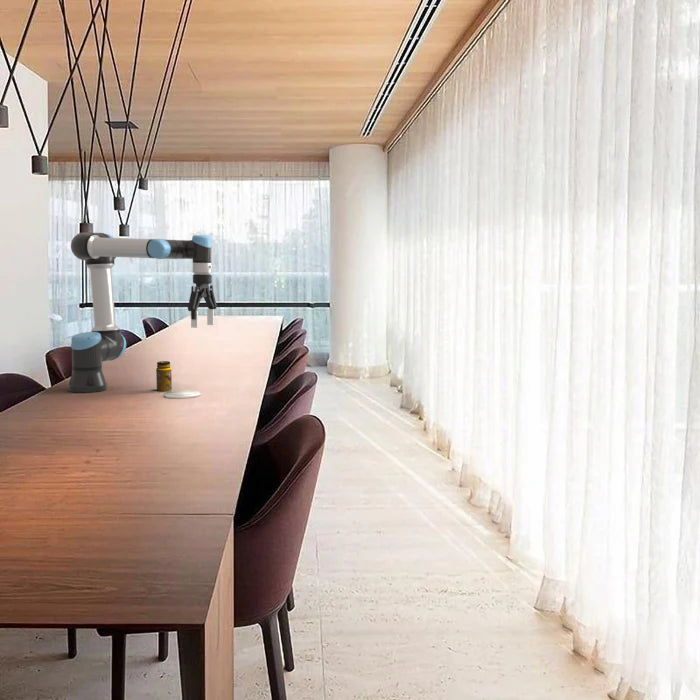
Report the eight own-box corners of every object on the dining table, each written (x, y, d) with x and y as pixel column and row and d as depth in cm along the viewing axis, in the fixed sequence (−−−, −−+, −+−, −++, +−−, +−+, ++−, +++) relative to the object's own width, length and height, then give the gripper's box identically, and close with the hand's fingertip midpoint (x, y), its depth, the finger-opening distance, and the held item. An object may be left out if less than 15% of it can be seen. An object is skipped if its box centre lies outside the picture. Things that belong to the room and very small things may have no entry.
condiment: (175, 391, 321) (174, 362, 320) (155, 393, 316) (154, 363, 315) (168, 388, 327) (168, 360, 326) (149, 390, 322) (148, 361, 321)
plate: (157, 397, 305) (157, 394, 305) (175, 391, 319) (175, 388, 319) (189, 399, 301) (189, 396, 301) (206, 393, 314) (206, 390, 314)
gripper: (195, 274, 303) (196, 329, 305) (224, 273, 326) (225, 324, 329) (178, 274, 305) (179, 328, 307) (208, 273, 329) (208, 323, 331)
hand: (202, 326), depth 318 cm, fingers open, 13 cm apart
